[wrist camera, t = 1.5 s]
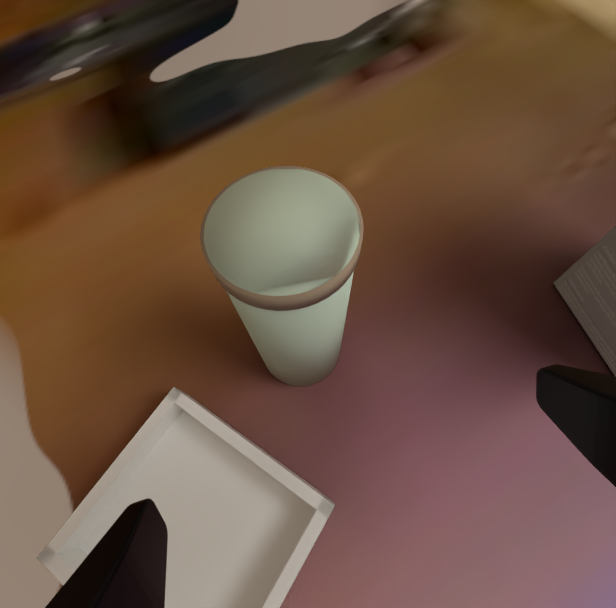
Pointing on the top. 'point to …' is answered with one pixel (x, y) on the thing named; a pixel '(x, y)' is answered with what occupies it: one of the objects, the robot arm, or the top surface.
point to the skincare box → (594, 295)
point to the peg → (287, 264)
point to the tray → (203, 510)
